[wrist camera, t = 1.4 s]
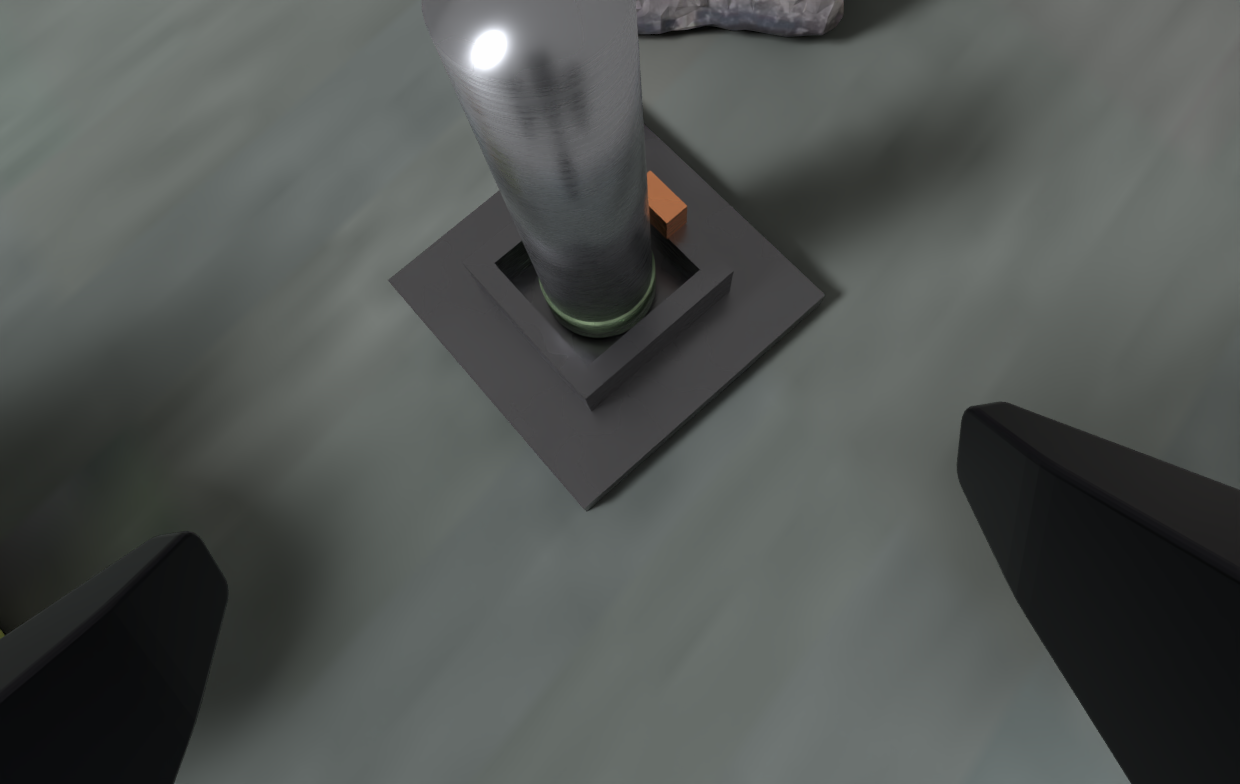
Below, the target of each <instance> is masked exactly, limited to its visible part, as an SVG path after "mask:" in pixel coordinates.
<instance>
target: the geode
mask: <svg viewBox="0 0 1240 784" xmlns="http://www.w3.org/2000/svg"><path fill="white" fill-rule="evenodd" d="M636 12H637V28H638V34H661V33H665V32H668V31H674V30H688V29H693V28H697V27H702V26H706V25H707V26H714V27H719V28H723V29H728V30H732V31H735V30H745V29H746V30H751V31H757V32H762V33H767V34H773V35H779V36H784V37H792V36H806V35H824V34H825V33H827V32H828V31H830V30H832V29H833V28H835V27H836V26H837V24H838V23H839V21H840V20H841V18H842V17H843V13H844V0H636Z"/></svg>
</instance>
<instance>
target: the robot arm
mask: <svg viewBox="0 0 1240 784" xmlns="http://www.w3.org/2000/svg"><path fill="white" fill-rule="evenodd" d="M957 474H958V479H959V482H960V485H961V487H962V489H963V492H964V494H965V496H966V498H967V500H968V502H969V504H970V506H971V508H972V510H973V512H974V514H975V517H976V519H977V521H978V523H979V525H980V527H981V529H982V531H983V533H984V535H985V537H986V540H987V542H988V544H989V546H990V548H991V550H992V552H993V554H994V556H995V558H996V560H997V562H998V565H999V567H1000V569H1001V571H1002V573H1003V575H1004V577H1005V579H1006V581H1007V583H1008V585H1009V587H1010V589H1011V591H1012V593H1013V595H1014V597H1015V598H1016V600H1017V602H1018V604H1019V605H1020V607H1021V609H1022V610H1023V612H1024V614H1025V615H1026V617H1027V619H1028V620H1029V622H1030V623H1031V625H1032V627H1033V628H1034V630H1035V631H1036V633H1037V635H1038V636H1039V638H1040V639H1041V641H1042V643H1043V644H1044V646H1045V647H1046V649H1047V650H1048V652H1049V654H1050V655H1051V657H1052V658H1053V660H1054V662H1055V663H1056V665H1057V666H1058V668H1059V670H1060V671H1061V673H1062V674H1063V676H1064V678H1065V679H1066V681H1067V682H1068V684H1069V686H1070V687H1071V689H1072V690H1073V692H1074V693H1075V695H1076V697H1077V698H1078V700H1079V701H1080V703H1081V705H1082V706H1083V708H1084V709H1085V711H1086V713H1087V714H1088V716H1089V717H1090V719H1091V721H1092V722H1093V724H1094V725H1095V727H1096V728H1097V730H1098V732H1099V733H1100V735H1101V736H1102V738H1103V740H1104V741H1105V743H1106V744H1107V746H1108V748H1109V749H1110V751H1111V752H1112V754H1113V756H1114V757H1115V759H1116V760H1117V762H1118V763H1119V765H1120V767H1121V768H1122V770H1123V771H1124V773H1125V775H1126V776H1127V778H1128V779H1129V781H1130V783H1131V784H1240V490H1239V489H1236V488H1233V487H1231V486H1228V485H1225V484H1223V483H1220V482H1217V481H1215V480H1212V479H1209V478H1207V477H1204V476H1201V475H1199V474H1196V473H1193V472H1191V471H1188V470H1185V469H1183V468H1180V467H1177V466H1175V465H1172V464H1169V463H1167V462H1164V461H1161V460H1159V459H1156V458H1153V457H1151V456H1148V455H1145V454H1143V453H1140V452H1137V451H1135V450H1132V449H1129V448H1127V447H1124V446H1121V445H1119V444H1116V443H1113V442H1111V441H1108V440H1105V439H1103V438H1100V437H1097V436H1095V435H1092V434H1089V433H1087V432H1084V431H1081V430H1079V429H1076V428H1073V427H1071V426H1068V425H1065V424H1063V423H1060V422H1057V421H1055V420H1052V419H1049V418H1047V417H1044V416H1041V415H1039V414H1036V413H1034V412H1031V411H1028V410H1026V409H1023V408H1020V407H1018V406H1015V405H1012V404H1010V403H1006V402H995V403H988V404H982V405H976V406H971V407H969V408H968V409H966V410H965V412H964V414H963V416H962V421H961V430H960V439H959V448H958V457H957ZM227 602H228V585H227V582H226V579H225V577H224V575H223V574H222V572H221V570H220V569H219V567H218V565H217V564H216V562H215V560H214V559H213V557H212V556H211V554H210V552H209V551H208V549H207V547H206V546H205V544H204V542H203V541H202V539H201V538H200V537H199V536H198V535H197V534H195V533H193V532H190V531H183V532H177V533H170V534H164V535H158V536H156V537H153V538H151V539H149V540H148V541H146V542H145V543H143V544H142V545H140V546H139V547H137V548H136V549H134V550H133V551H131V552H130V553H128V554H127V555H125V556H124V557H122V558H121V559H119V560H118V561H116V562H115V563H113V564H112V565H110V566H109V567H107V568H106V569H104V570H103V571H101V572H100V573H98V574H97V575H95V576H94V577H92V578H91V579H89V580H88V581H86V582H85V583H83V584H82V585H80V586H79V587H77V588H76V589H74V590H73V591H71V592H70V593H68V594H67V595H65V596H64V597H62V598H61V599H59V600H58V601H56V602H55V603H53V604H52V605H50V606H49V607H47V608H46V609H44V610H43V611H41V612H40V613H38V614H37V615H35V616H34V617H32V618H31V619H29V620H28V621H26V622H25V623H23V624H22V625H20V626H19V627H17V628H16V629H14V630H13V631H11V632H10V633H8V634H7V635H5V636H4V637H2V638H1V639H0V784H174V782H175V779H176V777H177V774H178V771H179V768H180V766H181V763H182V760H183V758H184V755H185V752H186V749H187V747H188V744H189V741H190V738H191V735H192V732H193V729H194V726H195V724H196V720H197V717H198V713H199V710H200V706H201V703H202V699H203V695H204V692H205V688H206V684H207V680H208V676H209V672H210V668H211V664H212V660H213V657H214V653H215V649H216V645H217V641H218V637H219V633H220V629H221V626H222V622H223V618H224V614H225V610H226V606H227Z"/></svg>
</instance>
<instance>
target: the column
mask: <svg viewBox="0 0 1240 784" xmlns="http://www.w3.org/2000/svg"><path fill="white" fill-rule="evenodd" d="M422 12H423V16H424V20H425V24H426V26H427V29H428V31H429V33H430V36H431V38H432V40H433V42H434V45H435V47H436V49H437V51H438V54H439V56H440V58H441V60H442V62H443V65H444V67H445V69H446V71H447V74H448V76H449V78H450V80H451V83H452V85H453V87H454V89H455V92H456V94H457V96H458V98H459V101H460V103H461V105H462V107H463V109H464V112H465V114H466V116H467V118H468V121H469V123H470V125H471V127H472V130H473V132H474V134H475V136H476V139H477V141H478V143H479V145H480V147H481V150H482V152H483V154H484V156H485V159H486V161H487V163H488V165H489V168H490V170H491V172H492V174H493V177H494V179H495V181H496V183H497V186H498V188H499V190H500V192H501V194H502V197H503V199H504V201H505V203H506V206H507V208H508V210H509V212H510V215H511V217H512V219H513V221H514V224H515V226H516V228H517V230H518V232H519V235H520V237H521V239H522V241H523V244H524V246H525V248H526V250H527V253H528V255H529V257H530V259H531V262H532V264H533V266H534V268H535V271H536V273H537V275H538V277H539V283H540V287H541V290H542V293H543V295H544V297H545V299H546V301H547V304H548V306H549V308H550V310H551V312H552V313H553V315H554V316H555V318H556V319H557V320H558V321H559V322H560V323H561V324H562V325H563V326H564V327H566V328H567V329H569V330H570V331H572V332H574V333H577V334H579V335H582V336H586V337H593V338H605V337H611V336H615V335H619V334H621V333H623V332H626V331H627V330H629V329H631V328H632V327H634V326H635V325H636V324H637V323H639V322H640V321H641V320H642V319H643V317H644V316H645V315H646V314H647V312H648V311H649V309H650V307H651V305H652V303H653V300H654V297H655V292H656V269H655V259H654V255H653V252H652V248H651V232H650V216H649V200H648V185H647V169H646V153H645V138H644V122H643V106H642V90H641V75H640V59H639V43H638V28H637V12H636V0H422Z"/></svg>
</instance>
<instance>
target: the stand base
mask: <svg viewBox="0 0 1240 784" xmlns="http://www.w3.org/2000/svg"><path fill="white" fill-rule="evenodd" d="M644 138H645V153H646V169H647V185H648V200H649V216H650V232H651V248H652V252H653V255H654V259H655V269H656V292H655V297H654V300H653V303H652V305H651V307H650V309H649V311H648V312H647V314H646V315H645V316H644V317H643V319H642V320H641V321H640V322H639V323H637V324H636V325H635V326H634V327H632V328H631V329H629V330H627V331H626V332H623V333H621V334H619V335H615V336H611V337H605V338H593V337H586V336H582V335H579V334H577V333H574V332H572V331H570V330H569V329H567V328H566V327H564V326H563V325H562V324H561V323H560V322H559V321H558V320H557V319H556V318H555V316H554V315H553V313H552V312H551V310H550V308H549V306H548V304H547V301H546V299H545V297H544V295H543V293H542V290H541V287H540V283H539V277H538V275H537V273H536V271H535V268H534V266H533V264H532V262H531V259H530V257H529V255H528V253H527V250H526V248H525V246H524V244H523V241H522V239H521V237H520V235H519V232H518V230H517V228H516V226H515V224H514V221H513V219H512V217H511V215H510V212H509V210H508V208H507V206H506V203H505V201H504V199H503V197H502V194H501V192H500V190H499V191H498V192H497V193H496V194H494V195H493V196H492V197H491V198H489V199H488V200H487V201H486V202H484V203H483V204H482V205H481V206H479V207H478V208H477V209H476V210H475V211H473V212H472V213H471V214H470V215H468V216H467V217H466V218H465V219H463V220H462V221H461V222H460V223H458V224H457V225H456V226H455V227H453V228H452V229H451V230H450V231H448V232H447V233H446V234H445V235H444V236H442V237H441V238H440V239H439V240H437V241H436V242H435V243H434V244H432V245H431V246H430V247H429V248H427V249H426V250H425V251H424V252H422V253H421V254H420V255H419V256H417V257H416V258H415V259H414V260H412V261H411V262H410V263H409V264H408V265H406V266H405V267H404V268H403V269H401V270H400V271H399V272H398V273H396V274H395V275H394V276H393V277H391V278H390V279H389V280H388V281H389V282H390V283H391V284H392V286H393V287H394V288H395V289H396V290H397V291H398V293H399V294H400V295H401V296H402V297H403V298H404V300H405V301H406V302H407V303H408V304H409V305H410V307H411V308H412V309H413V310H414V311H415V312H416V314H417V315H418V316H419V317H420V318H421V319H422V321H423V322H424V323H425V324H426V325H427V326H428V328H429V329H430V330H431V331H432V332H433V333H434V335H435V336H436V337H437V338H438V339H439V340H440V342H441V343H442V344H443V345H444V346H445V347H446V349H447V350H448V351H449V352H450V353H451V354H452V356H453V357H454V358H455V359H456V360H457V361H458V363H459V364H460V365H461V366H462V367H463V368H464V370H465V371H466V372H467V373H468V374H469V375H470V377H471V378H472V379H473V380H474V381H475V382H476V384H477V385H478V386H479V387H480V388H481V389H482V391H483V392H484V393H485V394H486V395H487V396H488V398H489V399H490V400H491V401H492V402H493V403H494V405H495V406H496V407H497V408H498V409H499V410H500V412H501V413H502V414H503V415H504V416H505V417H506V419H507V420H508V421H509V422H510V423H511V424H512V426H513V427H514V428H515V429H516V430H517V431H518V433H519V434H520V435H521V436H522V437H523V438H524V440H525V441H526V442H527V443H528V444H529V445H530V447H531V448H532V449H533V450H534V451H535V452H536V454H537V455H538V456H539V457H540V458H541V459H542V461H543V462H544V463H545V464H546V465H547V466H548V468H549V469H550V470H551V471H552V472H553V473H554V475H555V476H556V477H557V478H558V479H559V480H560V482H561V483H562V484H563V485H564V486H565V487H566V489H567V490H568V491H569V492H570V493H571V495H572V496H573V497H574V498H575V499H576V500H577V502H578V503H579V504H580V505H581V506H582V507H583V509H585V510H586V511H588V510H589V509H590V508H591V507H592V506H594V505H595V504H596V503H597V502H598V501H599V500H600V499H601V498H603V497H604V496H605V495H606V494H607V493H608V492H609V491H611V490H612V489H613V488H614V487H615V486H616V485H617V484H618V483H620V482H621V481H622V480H623V479H624V478H625V477H626V476H627V475H629V474H630V473H631V472H632V471H633V470H634V469H635V468H636V467H638V466H639V465H640V464H641V463H642V462H643V461H644V460H645V459H647V458H648V457H649V456H650V455H651V454H652V453H653V452H654V451H656V450H657V449H658V448H659V447H660V446H661V445H662V444H663V443H665V442H666V441H667V440H668V439H669V438H670V437H671V436H672V435H674V434H675V433H676V432H677V431H678V430H679V429H680V428H681V427H683V426H684V425H685V424H686V423H687V422H688V421H689V420H690V419H692V418H693V417H694V416H695V415H696V414H697V413H698V412H699V411H701V410H702V409H703V408H704V407H705V406H706V405H707V404H708V403H710V402H711V401H712V400H713V399H714V398H715V397H716V396H717V395H719V394H720V393H721V392H722V391H723V390H724V389H725V388H726V387H728V386H729V385H730V384H731V383H732V382H733V381H734V380H735V379H737V378H738V377H739V376H740V375H741V374H742V373H743V372H744V371H746V370H747V369H748V368H749V367H750V366H751V365H752V364H753V363H755V362H756V361H757V360H758V359H759V358H760V357H761V356H762V355H764V354H765V353H766V352H767V351H768V350H769V349H770V348H771V347H773V346H774V345H775V344H776V343H777V342H778V341H779V340H780V339H782V338H783V337H784V336H785V335H786V334H787V333H788V332H790V331H791V330H792V329H793V328H794V327H795V326H796V325H797V324H799V323H800V322H801V321H802V320H803V319H804V318H805V317H806V316H808V315H809V314H810V313H811V312H812V311H813V310H814V309H815V308H817V307H818V306H819V305H820V304H821V302H822V300H823V298H824V296H825V294H824V293H823V292H822V291H821V290H820V289H819V288H818V287H816V286H815V285H814V284H813V283H812V282H811V281H810V280H809V279H808V278H807V277H806V276H805V275H804V274H803V273H802V272H801V271H800V270H798V269H797V268H796V267H795V266H794V265H793V264H792V263H791V262H790V261H789V260H788V259H787V258H786V257H785V256H784V255H783V254H782V253H780V252H779V251H778V250H777V249H776V248H775V247H774V246H773V245H772V244H771V243H770V242H769V241H768V240H767V239H766V238H765V237H764V236H762V235H761V234H760V233H759V232H758V231H757V230H756V229H755V228H754V227H753V226H752V225H751V224H750V223H749V222H748V221H747V220H746V219H744V218H743V217H742V216H741V215H740V214H739V213H738V212H737V211H736V210H735V209H734V208H733V207H732V206H731V205H730V204H729V203H728V202H726V201H725V200H724V199H723V198H722V197H721V196H720V195H719V194H718V193H717V192H716V191H715V190H714V189H713V188H712V187H711V186H710V185H708V184H707V183H706V182H705V181H704V180H703V179H702V178H701V177H700V176H699V175H698V174H697V173H696V172H695V171H694V170H693V169H692V168H690V167H689V166H688V165H687V164H686V163H685V162H684V161H683V160H682V159H681V158H680V157H679V156H678V155H677V154H676V153H675V152H674V151H672V150H671V149H670V148H669V147H668V146H667V145H666V144H665V143H664V142H663V141H662V140H661V139H660V138H659V137H658V136H657V135H656V134H654V133H653V132H652V131H651V130H650V129H649V128H648V127H647V126H646V125H645V124H644Z"/></svg>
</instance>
